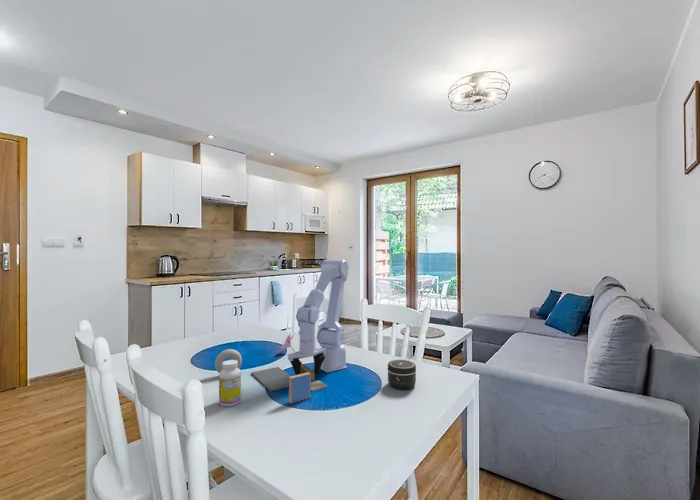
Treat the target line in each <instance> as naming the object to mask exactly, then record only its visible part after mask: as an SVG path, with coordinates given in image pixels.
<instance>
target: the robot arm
mask: <svg viewBox="0 0 700 500" xmlns="http://www.w3.org/2000/svg"><path fill="white" fill-rule="evenodd" d="M320 272H321V273H320V275H319V278H318V280H317V282H316V285H315V288H314V289H311V290H310V292H309V294H308V296H307V298H306V300H305V301H304V303H303V305H302V306H300V307H299V308H297V312H296V315H295V319H296V320H297V326H298V327H299V350H298V351H295V352H293V353H288V354H287V361H289V363H290V365H292V369H293V371H294V376H295V375H299V374H300V370H301V364H303V362H301V360H300V359H304V358H311V357H312V358H313V367H314V369H313V371H314V375H316V376H320V372H321V370H322V371H324V372H325V373H331V372H334V371H339V370H343V369H346V368H347V367H348V366H347V365H346V364H347V362H346V361H347V359H346V357H347V356H346V355H347V354H346V352H347V351H346V348H345V346H344V345H343V343H344V340H345V336H344V330H345V329H344V327H343V326H342V325H341V323H339V321H340V315H341V308H342V303H343V296H344V289H345V282H346V281H348V280H347V279H348V275H349V265H348V262H347V260H346V259H329V258H325V259H324V260H323V261H322V263H321V265H320ZM330 282H331V287H330V295H329V301H328V307H327V313H326V319H325V321H323V323H321V324H320V325H319V330H318V331H317V333H316V323H317V321H318V320H319V317H320V316H319V315H320V308H321V305H322V303H323V301H324V300H325V294H324V292H325V290H326V289H327V287H328V286H329V284H330ZM316 341H317V343H318V344H319V346H320V347H319V348H318V347H317V348H316Z"/></svg>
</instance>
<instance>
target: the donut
mask: <svg viewBox="0 0 700 500" xmlns="http://www.w3.org/2000/svg"><path fill="white" fill-rule="evenodd" d="M227 359H231V360H237V361H238V365H237V368H239V369H240V368H241V367H242V363H243V362H242V361H243V357H242V355H241V353H240V352H239V351H238V350H236V349H232V348H227V349H224V350H223V351H220V353H219V354H217V356H216V357H215V359H214V360H215V361H214V367H215V370H216V372H217V373H218V374H219V373H220V371H222V370H223V368H222V363H223V362H224V361H227Z"/></svg>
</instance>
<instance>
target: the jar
mask: <svg viewBox="0 0 700 500" xmlns="http://www.w3.org/2000/svg"><path fill="white" fill-rule="evenodd" d="M416 373H417V366H416V364H415V362H413V361H412V360H411V361H410V360H407V359H394V360H390V361H389V362H388V363H387V381H388V385H389V386H390V387H391V388H392V389H395V390H399V391H407V390H412V389H413V388H414V387H415V385H416V381H417V378H416V377H417V374H416Z"/></svg>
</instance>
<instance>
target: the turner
mask: <svg viewBox="0 0 700 500" xmlns="http://www.w3.org/2000/svg"><path fill="white" fill-rule="evenodd" d="M307 372H309V373H311V391H312V392H311V393H313V391H314V392H317V390H318V391H320V390H321V389H322V390H325V389H328V385H327V384H326V383H324V382H323V381H321V380H315V377H316V376H315V372H314V369H312V368H310V367H308V366H307V365H306V364H303V363H302V364H301V370H300V374H303V373H307ZM324 388H325V389H324ZM322 390H321V391H322Z"/></svg>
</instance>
